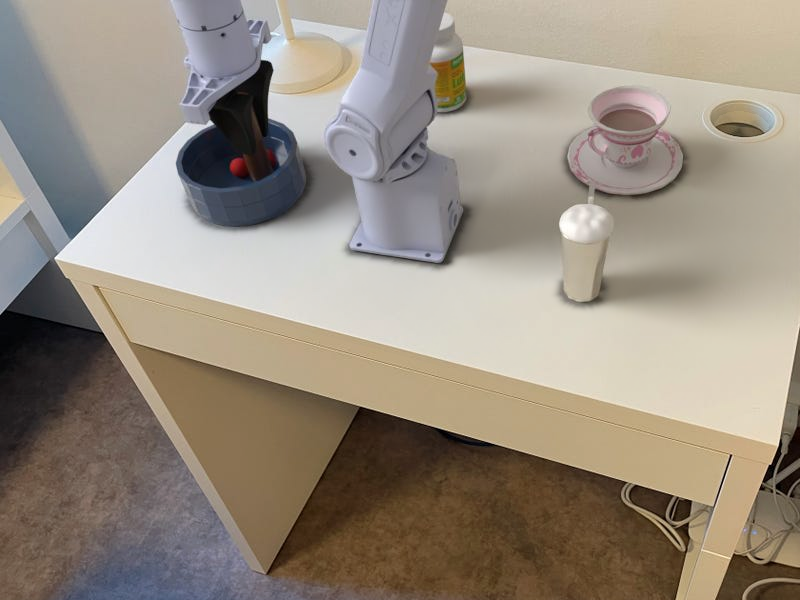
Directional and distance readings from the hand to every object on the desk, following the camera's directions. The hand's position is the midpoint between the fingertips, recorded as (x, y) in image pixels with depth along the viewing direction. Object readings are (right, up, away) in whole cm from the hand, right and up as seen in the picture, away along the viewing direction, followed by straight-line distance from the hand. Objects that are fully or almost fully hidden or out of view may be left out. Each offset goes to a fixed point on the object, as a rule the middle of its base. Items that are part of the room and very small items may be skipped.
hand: (252, 142), depth 82 cm
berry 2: (0, -1, +4) cm, 4 cm away
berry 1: (-2, -2, +4) cm, 5 cm away
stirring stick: (0, -3, +3) cm, 4 cm away
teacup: (+38, -1, +4) cm, 38 cm away
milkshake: (+32, -15, -7) cm, 37 cm away
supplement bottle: (+19, +8, +12) cm, 24 cm away
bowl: (-1, -4, +4) cm, 6 cm away
